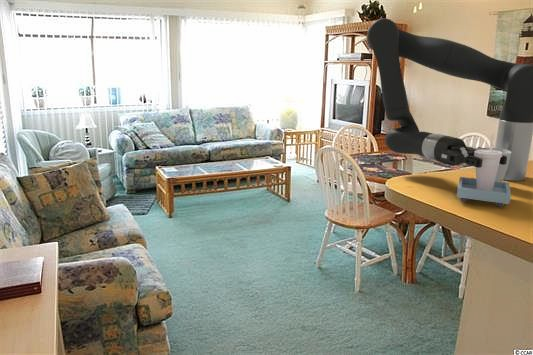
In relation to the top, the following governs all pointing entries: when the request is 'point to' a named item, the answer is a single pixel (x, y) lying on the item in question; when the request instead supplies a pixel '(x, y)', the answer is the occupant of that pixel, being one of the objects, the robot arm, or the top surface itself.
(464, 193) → the square pastel tray
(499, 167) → the cup
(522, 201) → the top surface
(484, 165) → the smoothie
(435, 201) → the top surface
